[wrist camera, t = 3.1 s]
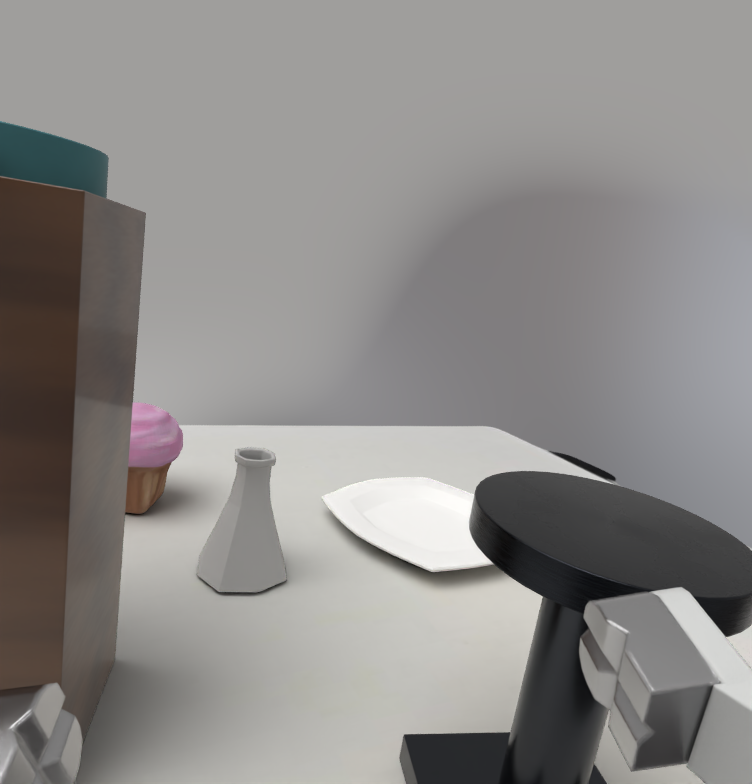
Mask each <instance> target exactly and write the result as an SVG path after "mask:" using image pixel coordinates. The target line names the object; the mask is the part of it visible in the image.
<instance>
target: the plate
mask: <svg viewBox="0 0 752 784" xmlns="http://www.w3.org/2000/svg"><path fill="white" fill-rule="evenodd" d="M321 498H322V500H323V502H324V503H325V505H326V506H327V507H328V508H329V510H330V511H331V512H332V513H333V514H334V515H335V517H336V518H337V519H338V520H339V521H340V522H341V523H342V524H343V525H344V526H345V527H347V528H348V529H349V530H350V531H352V532H353V533H354V534H355V535H357V536H358V537H360V538H362V539H363V540H365V541H367V542H368V543H370V544H372V545H374V546H376V547H378V548H380V549H382V550H384V551H386V552H388V553H390V554H392V555H394V556H396V557H398V558H401V559H403V560H405V561H407V562H409V563H412V564H414V565H416V566H419V567H421V568H423V569H426V570H428V571H431V572H440V571H451V570H460V569H469V568H477V567H482V566H488V565H493V563H492V562H491V561H490V560H489V559H488V558H487V557H486V556H485V555H484V554H483V553H482V552H481V550H480V549H479V548H478V547H477V545H476V544H475V542H474V540H473V539H472V536H471V533H470V530H469V519H470V514H471V509H472V504H473V499H474V495H473V494H471V493H468V492H466V491H463V490H461V489H458V488H455V487H453V486H450V485H447V484H444V483H441V482H438V481H435V480H432V479H429V478H426V477H397V478H380V479H372V480H366V481H361V482H357V483H354V484H351V485H348V486H345V487H343V488H340V489H338V490H335V491H333V492H331V493H329V494H327V495H324V496H322V497H321Z"/></svg>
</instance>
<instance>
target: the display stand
mask: <svg viewBox="0 0 752 784" xmlns="http://www.w3.org/2000/svg"><path fill="white" fill-rule="evenodd" d="M469 530H470V533H471V536H472V539H473V540H474V542H475V544H476V545H477V547H478V548H479V549H480V550H481V552H482V553H483V554H484V555H485V556H486V557H487V558H488V559H489V560H490V561H491V562H492V563H493V564H494V565H495V566H497V567H498V568H499V569H501V570H502V571H503V572H504V573H506V574H507V575H508V576H510V577H511V578H513V579H514V580H516V581H518V582H519V583H521V584H522V585H524V586H525V587H527V588H529V589H531V590H532V591H534V592H536V593H538V594H540V595H541V596H543V598H542V603H541V607H540V611H539V615H538V619H537V624H536V628H535V632H534V636H533V640H532V644H531V649H530V653H529V657H528V661H527V665H526V670H525V674H524V678H523V682H522V686H521V691H520V695H519V699H518V703H517V707H516V711H515V716H514V720H513V724H512V728H511V732H508V733H456V734H405V735H404V737H403V742H402V747H401V753H400V762H401V765H402V769H403V773H404V777H405V781H406V784H607V783H606V781H605V780H604V778H603V777H602V775H601V774H600V772H599V771H598V769H597V767H596V766H595V764H594V761H595V758H596V754H597V750H598V747H599V743H600V740H601V736H602V732H603V729H604V725H605V722H606V718H607V714H608V711H609V709H607V708H606V707H605V706H603V705H602V704H601V703H599V702H598V701H597V700H595V699H594V697H593V695H592V693H591V691H590V689H589V687H588V685H587V682H586V679H585V677H584V674H583V671H582V667H581V661H580V655H579V646H580V637H581V636H582V635H583V634H584V633H585V632H586V631H587V629H588V628H589V627H588V625H587V623H586V621H585V619H584V618H583V617H584V611H585V606H586V605H587V604H588V602H589V601H592V600H598V599H604V598H610V597H616V596H622V595H628V594H634V593H640V592H651V591H658V590H664V589H670V588H677V587H682V588H684V589H685V590H687V591H688V592H690V594H691V595H692V596H693V597H694V599H695V600H696V601H697V602H698V603H699V605H700V606H701V607H702V608H703V610H704V611H705V612H706V613H707V615H708V616H709V617H710V618H711V619H712V621H713V622H714V623H715V624H716V626H717V627H718V628H719V629H720V630H721V632H722V633H723V634H724V635H725V637H729V636H732V635H735V634H738V633H741V632H742V631H744V630H745V629H747V628H748V627H750V626H751V624H752V551H751V550H750V549H749V548H748V547H747V546H746V545H745V544H743V543H742V542H740V541H739V540H738V539H737V538H735V537H734V536H732V535H731V534H729V533H728V532H726V531H724V530H723V529H721V528H719V527H718V526H716V525H714V524H712V523H711V522H709V521H707V520H705V519H703V518H701V517H699V516H697V515H695V514H693V513H691V512H688V511H686V510H684V509H682V508H680V507H677V506H675V505H672V504H670V503H667V502H665V501H662V500H660V499H657V498H654V497H652V496H649V495H646V494H643V493H640V492H636V491H634V490H630V489H627V488H624V487H620V486H617V485H613V484H609V483H605V482H601V481H597V480H593V479H588V478H583V477H578V476H572V475H566V474H559V473H550V472H536V471H517V472H506V473H500V474H496V475H492V476H490V477H488V478H486V479H484V480H483V481H481V482H480V483H479V485H478V486H477V487H476V490H475V494H474V499H473V504H472V509H471V514H470V519H469Z"/></svg>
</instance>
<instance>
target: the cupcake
mask: <svg viewBox="0 0 752 784" xmlns="http://www.w3.org/2000/svg"><path fill="white" fill-rule="evenodd" d="M182 447H183V433H182V430H181V429H180V428H179V425H178V423H177V421H176V420H175V419H174V418H173V417H172V416H171V415H169V413H167V412H166V411H164V410H162V409H161V408H159V407H156V406H153V405H150V404H146V403H138V402H133V406H132V420H131V435H130V449H129V464H128V478H127V493H126V507H125V512H128V513H136V514H140V513H144V512H146V511H147V510H148V509H149V508H150V507H151V506H152V505H153V504H154V503H155V501H156V500H158V499H159V498H160V497H161V495H162V493H163V491H164V488H165V483H166V477H167V472H168V469H169V467H170V465H171V462H172V461H174V460H175V459H176V458H177V457H178V456H179V454H180V451H181V449H182Z"/></svg>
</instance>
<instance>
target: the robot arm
mask: <svg viewBox="0 0 752 784" xmlns="http://www.w3.org/2000/svg"><path fill="white" fill-rule="evenodd" d="M583 618H584V619H585V621H586V623H587V625H588V627H589V628H588V629H587V631H586V632H585V633H584V634H583V635H582V636H581V637H580V646H579V655H580V661H581V667H582V671H583V674H584V677H585V679H586V682H587V685H588V687H589V689H590V691H591V693H592V695H593V697H594V699H595V700H597V701H598V702H599V703H601V704H602V705H603V706H605V707H606V708H607V709H609V710H610V711H611V714H610V720H609V726H608V727H609V729H610V731H611V733H612V735H613V737H614V739H615V741H616V743H617V745H618V747H619V749H620V751H621V753H622V755H623V757H624V759H625V761H626V763H627V765H628V767H629V769H630V771H631V772H632V771H639V770H646V769H653V768H660V767H667V766H674V765H680V764H687V763H688V764H687V768H688V769H689V770H691V771H692V772H693V773H694V774H695V775H696V776H698V777H699V778H700V779H701V780H702V781H703V782H704V783H706V784H752V669H751V667H750V666H749V665H748V664H747V662H746V661H745V660H744V659H743V658H742V656H741V655H740V654H739V653H738V651H737V650H736V649H735V648H734V646H733V645H732V644H731V643H730V642H729V640H728V639H727V638H726V637H725V635H724V634H723V633H722V632H721V630H720V629H719V628H718V627H717V626H716V624H715V623H714V622H713V621H712V619H711V618H710V617H709V616H708V615H707V613H706V612H705V611H704V610H703V608H702V607H701V606H700V605H699V603H698V602H697V601H696V600H695V599H694V597H693V596H692V595H691V594H690V592H688V591H687V590H685V589H684V588H682V587H677V588H670V589H664V590H658V591H651V592H640V593H634V594H628V595H622V596H616V597H610V598H604V599H598V600H592V601H589V602H588V604H587V605H586V606H585V611H584V617H583ZM65 697H66V696H65V695H64V693H63V691H62V690H61V688H60V686H59V685H58V683H51V684H43V685H35V686H27V687H19V688H11V689H3V690H0V784H74V782H75V779H76V776H77V773H78V769H79V766H80V762H81V752H82V742H83V740H82V734H81V728H80V725H79V723H78V720H77V718H76V716H75V715H73V714H71V713H69V712H67V711H65V710H63V709H61V708H62V705H63V702H64V700H65Z"/></svg>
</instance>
